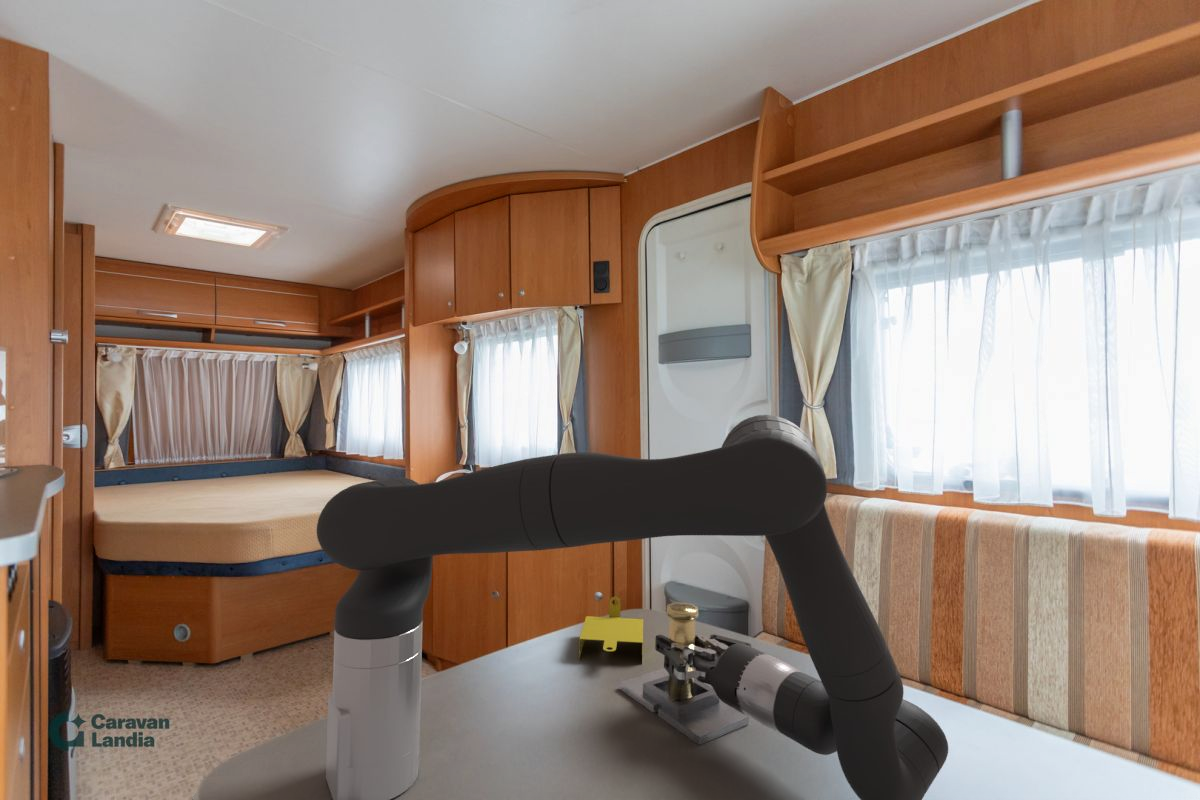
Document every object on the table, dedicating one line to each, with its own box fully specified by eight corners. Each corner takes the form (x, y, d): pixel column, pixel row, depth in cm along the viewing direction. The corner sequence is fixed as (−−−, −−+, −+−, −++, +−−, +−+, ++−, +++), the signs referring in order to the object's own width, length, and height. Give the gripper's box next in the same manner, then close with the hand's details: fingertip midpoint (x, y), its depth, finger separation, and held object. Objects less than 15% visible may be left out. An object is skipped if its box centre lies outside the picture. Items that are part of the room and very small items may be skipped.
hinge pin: (679, 703, 79) (681, 615, 80) (658, 690, 83) (660, 605, 83) (703, 695, 82) (704, 609, 82) (681, 682, 85) (683, 600, 86)
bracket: (560, 625, 92) (573, 594, 107) (559, 674, 92) (572, 636, 107) (659, 630, 91) (657, 599, 106) (657, 680, 91) (656, 641, 106)
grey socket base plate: (699, 745, 73) (699, 725, 73) (619, 688, 87) (619, 671, 87) (748, 724, 78) (748, 705, 78) (665, 674, 92) (665, 658, 92)
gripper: (799, 643, 75) (703, 604, 89) (721, 669, 67) (630, 621, 81) (798, 702, 75) (702, 653, 89) (719, 735, 67) (628, 676, 81)
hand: (668, 638), depth 85 cm, fingers closed on hinge pin, 3 cm apart
